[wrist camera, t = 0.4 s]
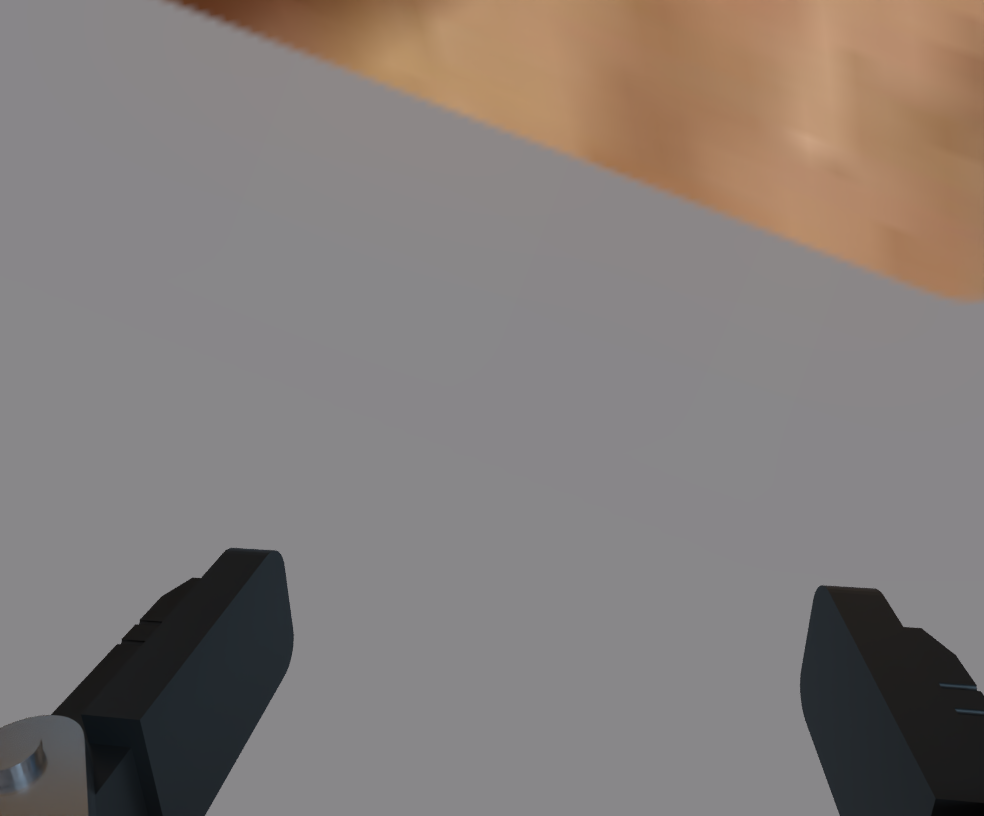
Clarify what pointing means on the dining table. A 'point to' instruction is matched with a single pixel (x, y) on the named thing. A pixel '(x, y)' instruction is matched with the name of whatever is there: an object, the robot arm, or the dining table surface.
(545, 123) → the dining table surface
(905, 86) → the dining table surface
